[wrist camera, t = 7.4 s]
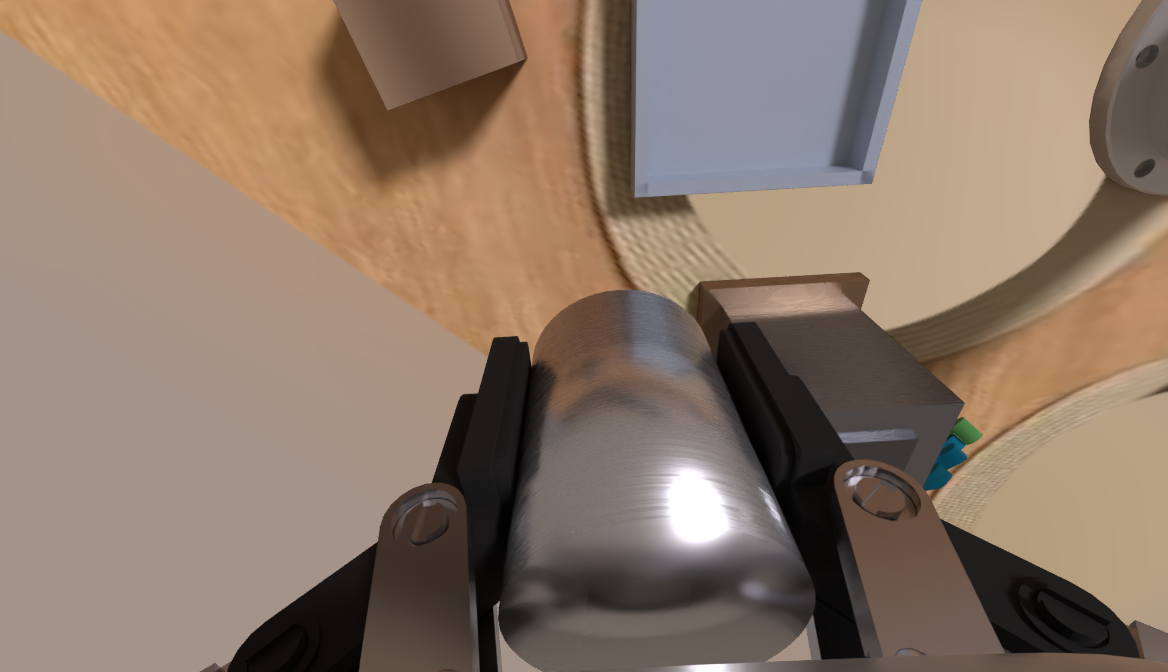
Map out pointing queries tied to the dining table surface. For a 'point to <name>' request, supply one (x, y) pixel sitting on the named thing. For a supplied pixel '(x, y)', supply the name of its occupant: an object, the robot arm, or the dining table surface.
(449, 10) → the block
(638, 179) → the tray
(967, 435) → the blue green-pegged part
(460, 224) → the dining table surface
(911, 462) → the box with rectangular openings
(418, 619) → the robot arm
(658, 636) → the metal cylinder
